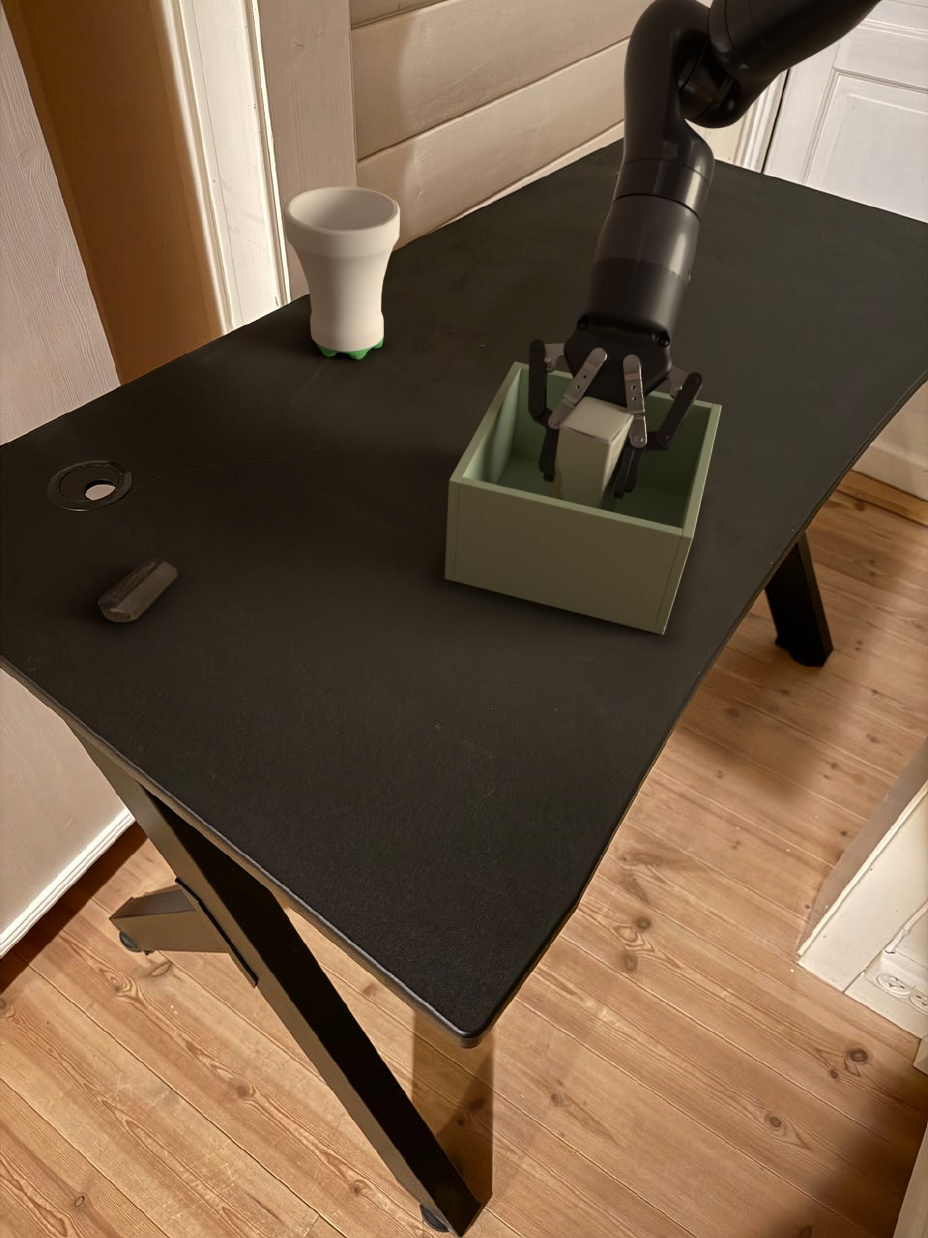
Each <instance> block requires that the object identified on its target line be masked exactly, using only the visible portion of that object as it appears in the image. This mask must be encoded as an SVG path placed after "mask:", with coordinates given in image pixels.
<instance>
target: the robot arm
mask: <svg viewBox="0 0 928 1238" xmlns="http://www.w3.org/2000/svg"><path fill="white" fill-rule="evenodd" d="M882 1H883V0H712V1H711V3H710V7H709V6H707V5H705V4H704V3H702V2H700V1H699V0H653V1H652V2H651V3H650V4H649V5H648V6H647V7H646V8H645V9H644V11H643V12H642V13H641V15H640V16H639V18H638V19H637V21H636V23H635V25H634V27H633V29H632V32H631V34H630V38H629V39H628V40H629V41H628V44H627V49H626V53H625V58H624V67H623V151H622V160H621V165H620V168H619V172H618V176H617V180H616V182H615V187H614V191H613V195H612V199H611V203H610V207H609V209H608V213H607V215H606V218H605V220H604V223H603V225H602V227H601V230H600V233H599V236H598V240H597V243H596V247H595V250H594V255H593V257H592V258H593V259H592V262H591V266H590V270H589V274H588V278H587V282H586V285H585V289H584V293H583V296H582V301H581V304H580V309H579V313H578V316H577V320H576V323H575V327H574V329H573V331H572V333H571V334H570V335H569V337H567V338H566V340H565V341H564V343H544V342H543V340H541V339H533V340H532V341H531V342H530V343H529V346H528V365H529V387H528V411H529V413H530V415H531V418H532V420H533V421H534V422H536V423H539V424H540V425H542V426H543V427H545V428H546V435H545V439H544V442H543V446H542V450H541V454H540V458H539V462H538V465H539V470H540V472H541V473H544V476H543V479H544V480H545V481H547V482H551V483H552V482H553V475H554V468H555V459H556V453H557V445H558V439H559V431H560V425H561V424H562V423H563V421H564V420H565V419H566V418H567V416H568V415H569V414H570V413H571V411H572V410H573V409H574V408H575V407H576V406H577V404H578V403H579V402H580V401H581V400H582V399H583V398H584V397H585V396H590V397H594V398H597V399H600V400H603V401H606V402H609V403H612V404H615V405H618V406H621V407H624V408H627V409H628V414H630V415H633V420H632V423H631V425H630V442H629V446H628V447H625V451H624V454H623V458H622V462H621V466H620V470H619V473H618V477H617V481H616V485H615V489H614V493H613V497H614V498H619V499H622V498H623V495H624V492H626V493H631V492H632V490H633V489H634V488H635V484H636V480H637V476H638V472H639V469H640V465H641V461H642V458H643V456H644V454H645V453H647V452H649V451H654V450H660V451H665V450H667V449H668V448H669V447H670V446H671V444H672V442H673V440H674V438H675V436H676V434H677V433H678V431H679V429H680V427H681V425H682V423H683V422H684V420H685V418H686V416H687V414H688V412H689V410H690V409H691V407H692V405H693V403H694V401H695V400H697V398H698V396H699V394H700V392H701V389H702V385H703V382H704V378H703V375H702V374H701V373H699V372H697V371H694V372H691V373H689V372H688V371H685V370H683V369H681V368H679V367H677V366H675V365H674V364H673V358H672V356H671V355H672V354H671V348H672V345H673V341H674V337H675V333H676V330H677V325H678V322H679V318H680V315H681V310H682V307H683V303H684V300H685V295H686V293H687V288H688V285H689V284H690V281H691V278H692V269H693V265H694V263H695V257H696V253H697V252H696V251H697V244H698V236H699V231H700V225H701V222H702V218H703V215H704V210H705V207H706V203H707V200H708V195H709V191H710V188H711V184H712V181H713V176H714V170H715V162H716V161H715V156H714V152H713V149H712V148H711V146H710V145H709V144H708V143H707V141H706V140H705V139H704V138H703V137H702V136H701V135H700V134H699V133H698V132H697V131H696V130H695V129H694V128H693V127H692V126H691V125H690V124H689V123H692V124H694V125H696V126H698V127H700V128H704V129H709V130H711V129H713V130H714V129H717V130H718V129H723V128H726V127H730V126H732V125H734V124H736V123H738V121H740V120H741V119H742V118H743V117H744V116H745V114H746V113H747V112H748V111H749V110H750V108H752V105H753V104H754V103H755V102H756V100H757V99H758V98H759V97H760V96H761V95H762V94H763V93H764V92H765V91H766V90H767V88H768V87H769V86H770V85H771V84H773V82H774V81H775V80H776V79H777V78H778V77H779V75H781V74H782V73H783V72H785V71H787V70H790V69H792V68H793V67H795V66H796V65H798V64H799V65H800V63H802V62H804V61H806V60H808V59H810V58H812V57H813V56H815V55H817V54H819V53H820V52H823V51H824V50H826V49H828V48H829V47H831V46H832V45H834V44H836V43H837V42H839V41H840V40H841V39H843V38H844V37H846V36H848V34H850V33H851V32H852V31H853V30H855V28H857V27H858V26H859V25H860V24H862V22H863V21H864V20H865V19H866V18H867V17H868V16H869V15H870V14H871V13H872V12H873V10H874V9H875V8H876V7H877V6H878V5H879V4H880V3H881V2H882ZM688 122H689V123H688ZM563 359H565V362H566V364H567V367H568V369H569V372H570V374H572V377H573V379H574V380H573V381H572V383H571V384H570V386H569V387H568V389H567V390H566V392H565V393H564V395H563V398H562V400H561V401H560V403H559V404H558V406H557V407H556V409H555V410H554V412H553V411H552V410H550V409H549V408H547V373H552V372H554V371H555V370H556V369H557V365H558V363H559V362H560V360H563ZM666 380H667V381H668V382H669V383H670V388H669V394H670V396H671V398H672V399H673V400H675V401H674V403H673V405H672V406H671V408H670V410H669V412H668V414H667V416H666V417H665V419H664V421H663V423H662V425H661V427H660V429H659V430H658V431H652V432H646V426H645V415H644V403H643V399H644V398H645V397H646V396H648V395H649V394H650V393H651V392H652V391H655V390H656V389H657V388H658V387H660V386H661V385H662V384H663V383H665V382H666Z"/></svg>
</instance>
